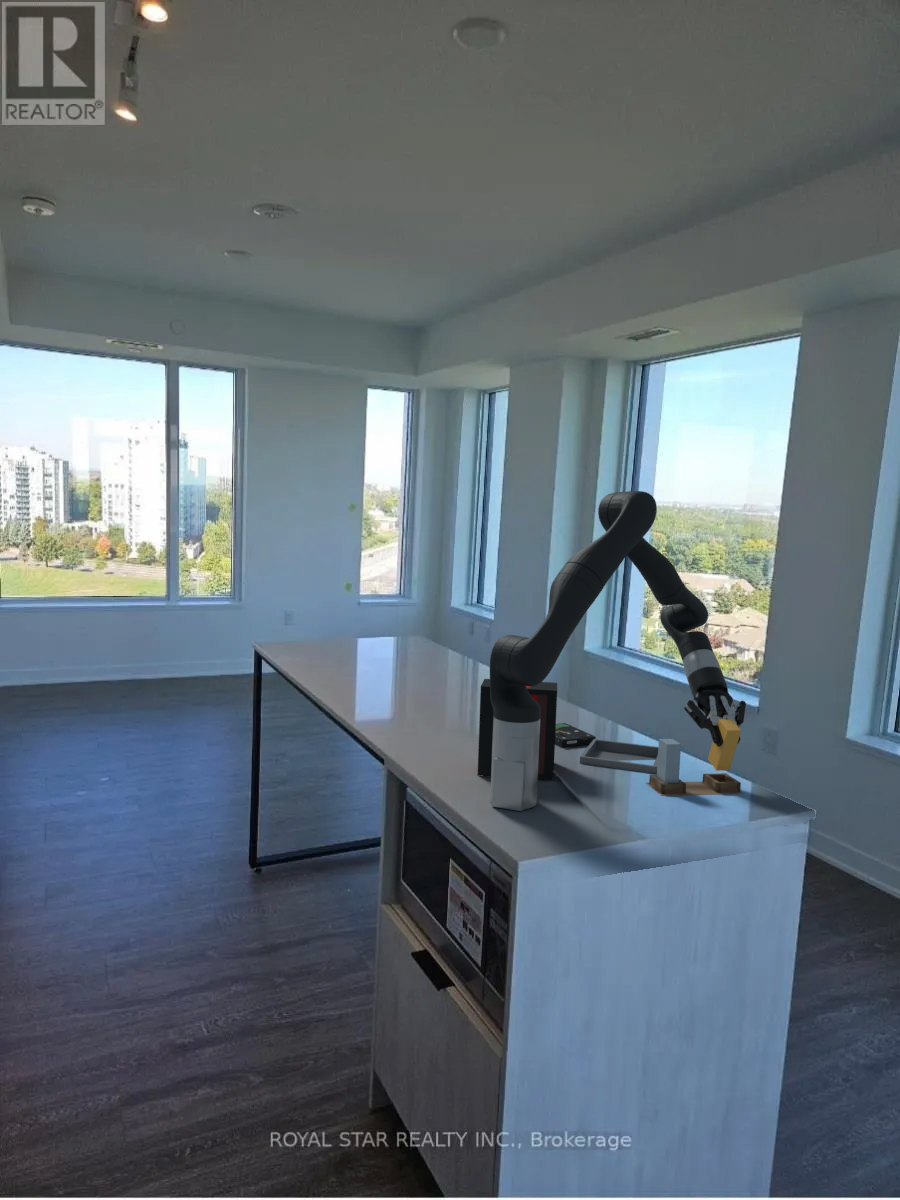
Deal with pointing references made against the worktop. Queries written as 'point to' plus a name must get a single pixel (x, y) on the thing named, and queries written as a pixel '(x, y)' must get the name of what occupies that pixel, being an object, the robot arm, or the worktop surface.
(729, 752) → the yellow rectangular block
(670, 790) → the block
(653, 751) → the tray
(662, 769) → the block
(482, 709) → the cleaning product box
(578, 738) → the disk drive
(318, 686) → the worktop surface
